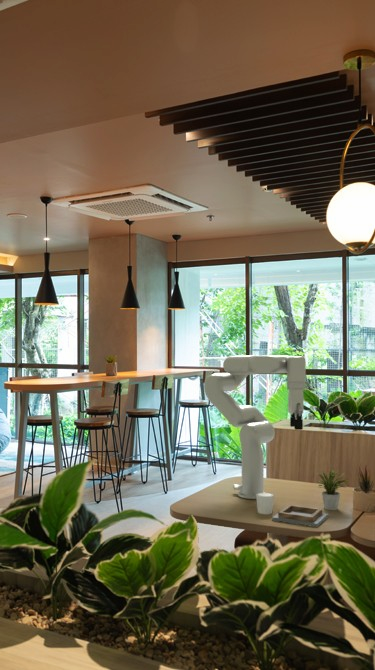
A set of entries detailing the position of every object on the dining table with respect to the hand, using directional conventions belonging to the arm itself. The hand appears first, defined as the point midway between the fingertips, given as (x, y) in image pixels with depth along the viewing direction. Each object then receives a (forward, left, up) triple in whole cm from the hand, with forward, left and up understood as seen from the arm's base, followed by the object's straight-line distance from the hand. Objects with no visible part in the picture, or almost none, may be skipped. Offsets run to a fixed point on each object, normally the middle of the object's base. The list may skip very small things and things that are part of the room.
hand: (296, 428), depth 247 cm
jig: (+7, -18, -32) cm, 37 cm away
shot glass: (-8, -16, -32) cm, 36 cm away
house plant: (+13, +1, -32) cm, 34 cm away
